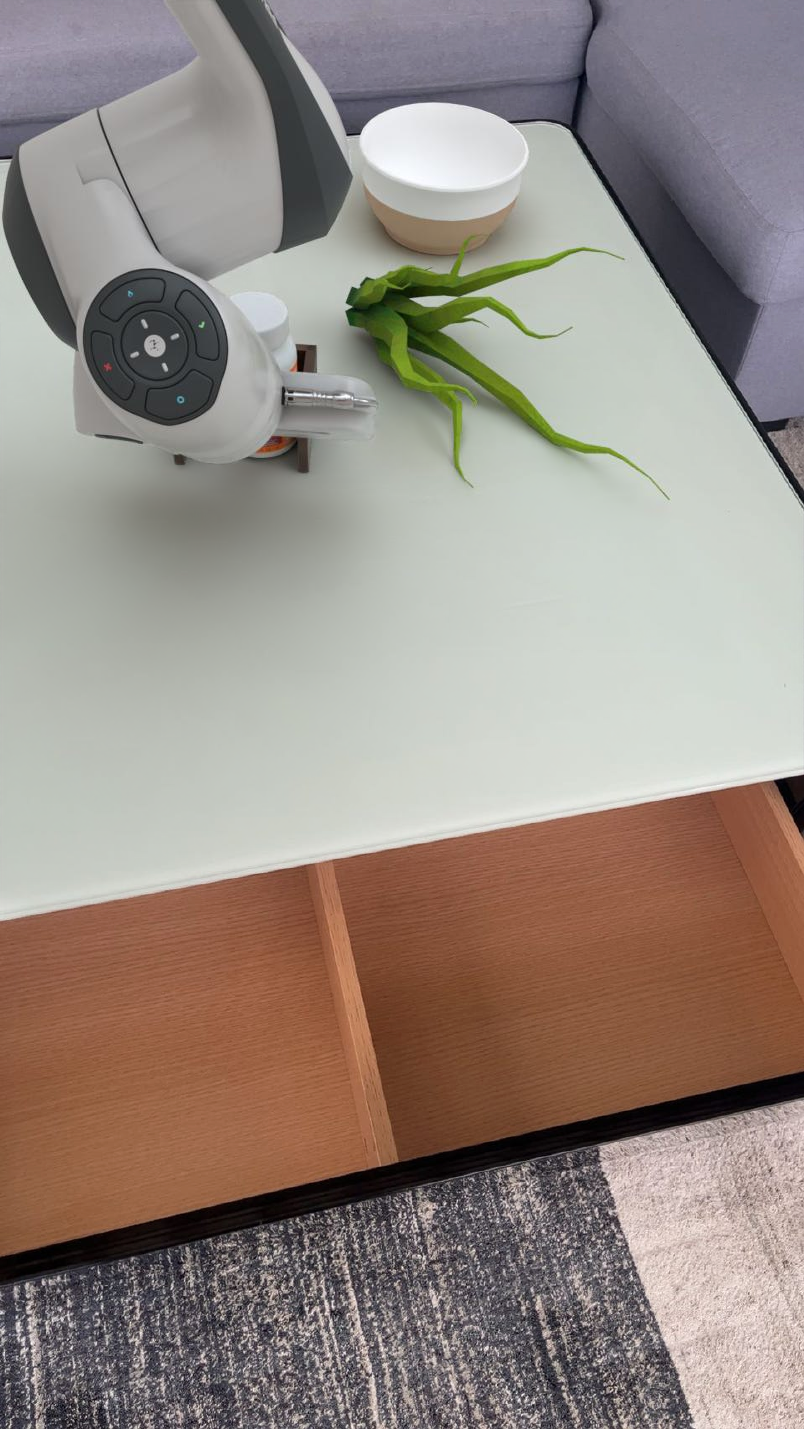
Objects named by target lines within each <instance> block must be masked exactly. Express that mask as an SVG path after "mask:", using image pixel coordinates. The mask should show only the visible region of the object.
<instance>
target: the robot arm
mask: <svg viewBox="0 0 804 1429" xmlns="http://www.w3.org/2000/svg"><path fill="white" fill-rule="evenodd" d="M161 1H162V3H163V4H164V5H165V7H166V9H167V11H168V12H169V14H171V16H172V17H173V19H174V20H175V23H176V24H177V25H178V27H179V28H180V29H181V31H182V32H183V34H184V36H185V37H186V38H187V40H188V42H189V43H190V45H191V46H192V47H193V49H194V50H195V52H196V54H197V55H196V56H195V57H194V59H193V60H192V61H190V63H188V64H186V65H185V66H184V67H182V68H181V69H179V70H177V71H175V72H172V73H171V74H169V75H167V76H165V77H162V78H160V79H158V80H156V81H154V82H151V83H150V84H148V85H145V86H143V87H141V88H139V89H137V90H135V91H132V92H130V93H128V94H126V95H124V96H122V97H119V98H118V99H116V100H113V101H111V102H109V103H107V104H105V105H102V106H101V107H94V108H92V109H90V110H88V111H86V112H84V113H82V114H79V115H77V116H75V117H73V118H71V119H69V120H66V121H64V122H62V123H60V124H58V125H57V126H55V127H53V128H51V129H49V130H47V131H44V132H42V133H40V134H39V135H36V136H34V137H32V138H31V139H29V140H27V141H25V142H23V143H19V144H18V145H17V147H16V149H15V150H14V153H13V155H12V157H11V160H10V163H9V167H8V170H7V174H6V180H5V185H4V193H3V201H2V202H3V203H2V211H1V221H2V228H3V233H4V237H5V240H6V243H7V246H8V249H9V252H10V255H11V257H12V260H13V262H14V265H15V267H16V269H17V272H18V275H19V276H20V279H21V281H22V283H23V285H24V287H25V289H26V291H27V294H28V295H29V296H30V298H31V300H32V302H33V303H34V305H35V307H36V309H37V311H38V312H39V314H40V315H41V317H42V319H43V320H44V322H45V323H46V325H47V327H48V328H49V330H50V331H51V332H52V333H53V334H54V335H55V336H56V337H57V338H58V339H59V341H61V342H62V343H63V344H65V345H66V346H68V347H70V348H71V349H73V350H74V359H73V368H72V369H73V370H72V372H73V373H72V374H73V375H72V390H73V391H72V395H73V397H72V398H73V413H74V421H75V430H76V431H77V433H79V434H82V435H85V436H88V437H96V438H99V439H104V440H114V441H115V440H116V441H123V442H129V443H135V444H139V445H143V444H145V445H149V446H153V447H154V448H155V447H156V448H158V449H160V450H162V451H164V452H166V453H169V454H171V455H173V454H175V455H178V454H181V455H184V456H186V458H189V459H192V460H195V461H197V462H202V463H205V464H214V465H222V464H229V463H235V462H238V461H241V460H243V459H245V458H248V457H250V455H252V454H253V453H255V452H256V451H258V450H259V449H260V448H261V447H262V446H263V445H264V444H265V443H266V442H267V441H268V440H269V439H270V438H271V436H285V437H300V438H313V439H318V440H331V441H333V440H334V441H348V442H365V441H366V442H367V441H371V440H372V439H374V434H375V425H376V424H375V422H376V414H377V412H378V410H379V403H378V399H377V395H376V390H375V388H374V387H373V386H372V385H371V384H369V383H368V382H367V381H366V380H364V379H361V378H358V377H354V376H348V375H341V374H335V373H321V372H320V373H318V372H317V373H306V372H291V371H281V370H280V367H279V365H278V363H277V361H276V359H275V357H274V355H273V354H272V352H271V351H270V350H269V348H268V347H267V345H266V344H265V342H264V341H263V339H262V338H261V337H260V335H259V334H258V333H257V332H256V330H255V328H254V326H253V325H252V324H251V322H250V321H249V320H248V318H247V317H246V316H245V315H244V313H243V312H242V311H241V310H240V309H239V308H238V307H237V306H236V305H235V304H234V303H233V302H232V301H231V300H230V299H229V298H228V297H229V296H227V295H226V294H225V293H223V292H222V290H221V291H220V289H218V288H217V287H216V286H214V285H212V283H210V281H211V280H214V279H216V278H219V277H221V276H223V275H226V274H227V273H229V272H232V271H234V270H235V269H239V268H241V267H243V266H245V265H247V264H250V263H252V262H254V261H256V260H258V259H260V258H263V257H265V256H267V255H269V254H272V253H273V254H279V253H282V252H284V251H287V250H290V249H293V248H297V247H299V246H302V245H305V244H306V243H311V242H313V241H316V240H318V239H322V238H325V237H327V236H328V234H329V232H330V231H331V229H332V227H333V226H334V224H335V223H336V221H337V218H338V216H339V214H340V212H341V210H342V208H343V206H344V204H345V202H346V199H347V196H348V193H349V190H350V188H351V185H352V182H353V179H354V174H353V172H352V156H351V151H350V149H351V148H350V144H349V140H348V137H347V132H346V130H345V127H344V123H343V121H342V118H341V116H340V114H339V111H338V109H337V106H336V104H335V102H334V101H333V99H332V96H331V94H330V93H329V91H328V89H327V88H326V86H325V85H324V83H323V81H322V79H321V78H320V76H319V75H318V74H317V73H316V71H315V70H314V68H313V67H312V65H311V64H309V62H308V61H307V60H306V59H305V57H304V56H303V54H301V52H300V51H299V50H298V48H297V47H296V46H295V45H293V43H292V42H291V41H290V39H289V37H288V35H287V34H286V32H285V30H284V29H283V27H282V25H281V23H280V22H279V20H278V18H277V16H276V15H275V13H274V12H273V9H272V8H271V6H270V4H269V2H268V0H161Z"/></svg>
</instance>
